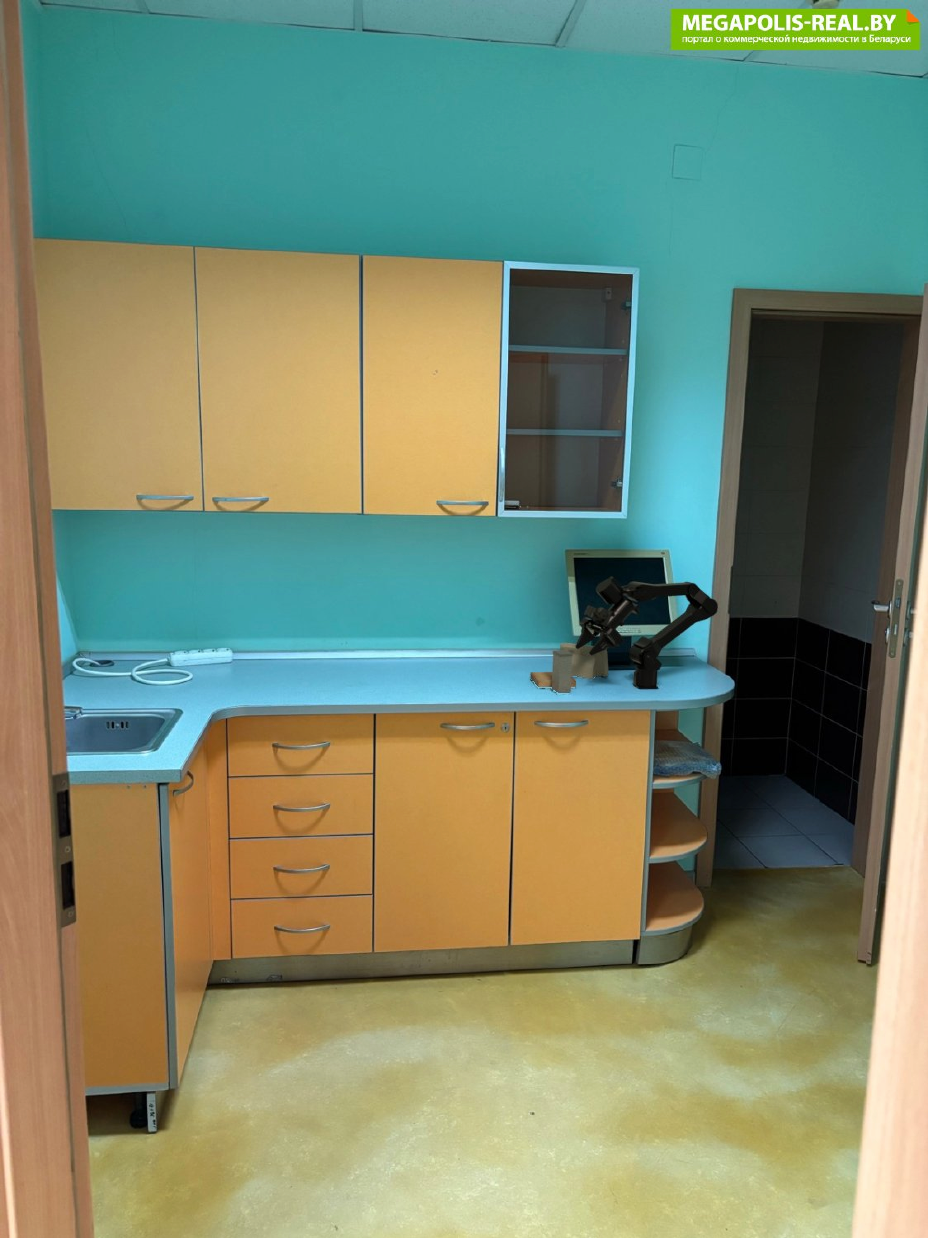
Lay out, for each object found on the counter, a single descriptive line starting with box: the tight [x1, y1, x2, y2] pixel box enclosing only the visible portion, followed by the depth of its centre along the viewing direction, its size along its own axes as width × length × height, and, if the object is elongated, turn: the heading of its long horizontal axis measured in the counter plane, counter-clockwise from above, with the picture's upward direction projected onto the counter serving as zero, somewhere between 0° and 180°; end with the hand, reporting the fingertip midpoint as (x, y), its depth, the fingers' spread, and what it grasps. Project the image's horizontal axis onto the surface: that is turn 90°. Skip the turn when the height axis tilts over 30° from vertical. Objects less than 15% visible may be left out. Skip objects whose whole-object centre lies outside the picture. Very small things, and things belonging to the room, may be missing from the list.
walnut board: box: [529, 671, 577, 688], centre depth 297 cm, size 12×12×2 cm
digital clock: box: [559, 642, 609, 680], centre depth 308 cm, size 16×9×11 cm, turn 54°
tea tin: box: [551, 650, 573, 693], centre depth 285 cm, size 4×5×13 cm
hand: (583, 651), depth 286 cm, fingers open, 9 cm apart
